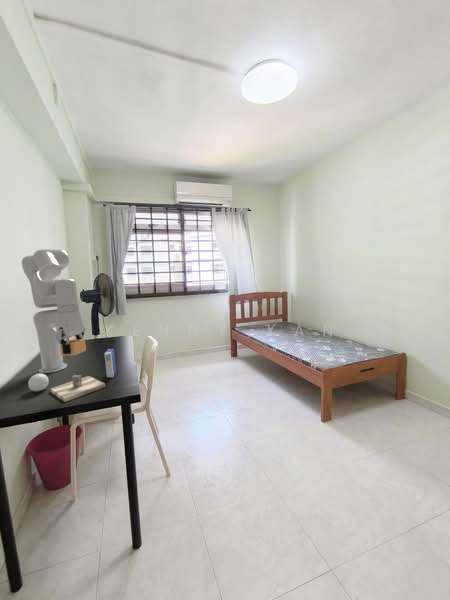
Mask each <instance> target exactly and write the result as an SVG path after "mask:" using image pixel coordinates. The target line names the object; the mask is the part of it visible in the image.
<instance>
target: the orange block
mask: <svg viewBox="0 0 450 600" xmlns="http://www.w3.org/2000/svg"><path fill="white" fill-rule="evenodd" d="M68 344H70V350H71V354H63V349H62V345H61V344H60V351H61V355H62V356H77V355H78V354H81V353H85V352H86V351H87V346H86V339H85V338H83V339H76V338H75V339H71V338H70V339H69V343H68Z"/></svg>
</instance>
